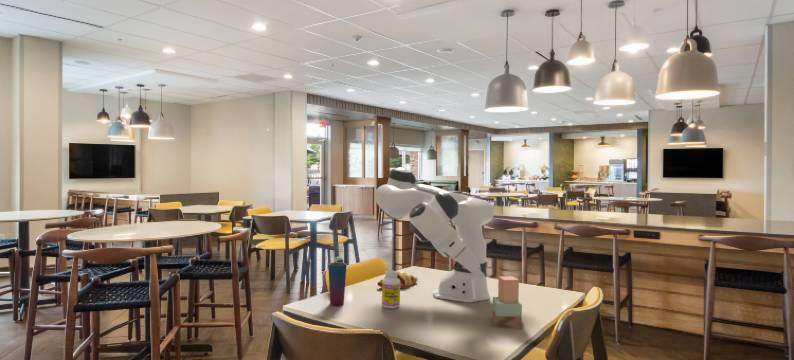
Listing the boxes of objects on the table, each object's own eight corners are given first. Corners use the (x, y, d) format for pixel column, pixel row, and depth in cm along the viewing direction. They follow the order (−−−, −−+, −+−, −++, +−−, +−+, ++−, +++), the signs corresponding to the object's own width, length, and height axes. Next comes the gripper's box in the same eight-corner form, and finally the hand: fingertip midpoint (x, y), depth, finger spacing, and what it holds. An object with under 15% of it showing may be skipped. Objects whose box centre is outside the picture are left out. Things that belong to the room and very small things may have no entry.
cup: (328, 301, 170) (328, 262, 170) (346, 301, 171) (346, 262, 170) (327, 306, 163) (327, 266, 163) (345, 306, 164) (346, 266, 164)
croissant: (413, 289, 203) (408, 272, 206) (426, 283, 196) (421, 265, 199) (374, 295, 191) (370, 277, 194) (386, 288, 184) (382, 270, 186)
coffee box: (333, 286, 192) (334, 256, 191) (340, 286, 192) (341, 256, 192) (336, 291, 184) (336, 260, 184) (343, 291, 185) (343, 259, 184)
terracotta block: (503, 302, 146) (504, 280, 145) (498, 298, 150) (498, 276, 150) (518, 302, 146) (518, 279, 146) (512, 298, 151) (512, 276, 151)
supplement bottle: (381, 308, 162) (382, 273, 162) (382, 303, 169) (382, 269, 168) (399, 309, 162) (400, 273, 162) (399, 303, 169) (400, 269, 168)
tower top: (496, 316, 145) (496, 303, 145) (492, 308, 153) (492, 296, 152) (521, 316, 144) (521, 304, 144) (516, 309, 152) (516, 297, 152)
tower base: (492, 327, 145) (492, 315, 145) (493, 318, 154) (493, 307, 154) (521, 330, 143) (521, 317, 143) (520, 321, 152) (520, 309, 152)
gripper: (436, 245, 155) (463, 273, 157) (450, 256, 135) (480, 288, 137) (449, 232, 156) (475, 260, 157) (465, 242, 136) (495, 273, 137)
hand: (478, 273), depth 147 cm, fingers open, 8 cm apart
